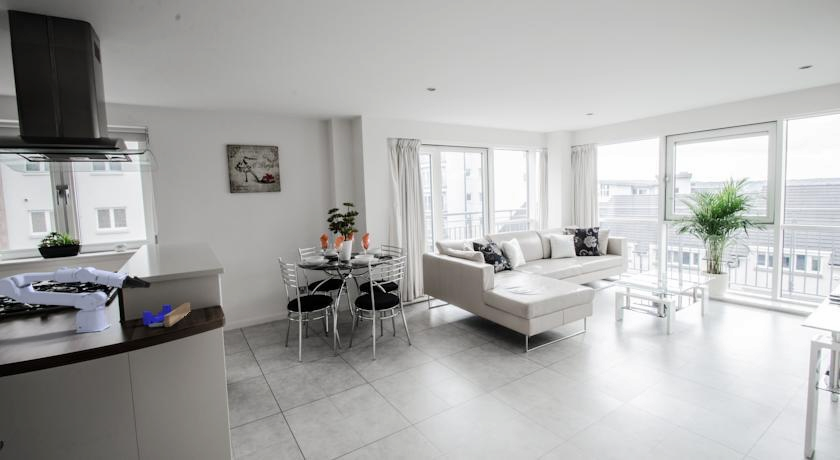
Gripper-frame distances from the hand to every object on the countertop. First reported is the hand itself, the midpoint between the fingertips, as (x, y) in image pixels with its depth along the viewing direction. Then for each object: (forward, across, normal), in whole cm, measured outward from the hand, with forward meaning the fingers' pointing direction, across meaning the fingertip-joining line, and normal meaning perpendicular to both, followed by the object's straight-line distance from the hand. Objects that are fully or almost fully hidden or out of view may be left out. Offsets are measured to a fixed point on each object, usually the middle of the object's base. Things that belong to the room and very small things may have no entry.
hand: (147, 285), depth 169 cm
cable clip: (+6, +9, +16) cm, 19 cm away
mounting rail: (+10, +8, +14) cm, 19 cm away
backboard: (+15, +7, +13) cm, 21 cm away
